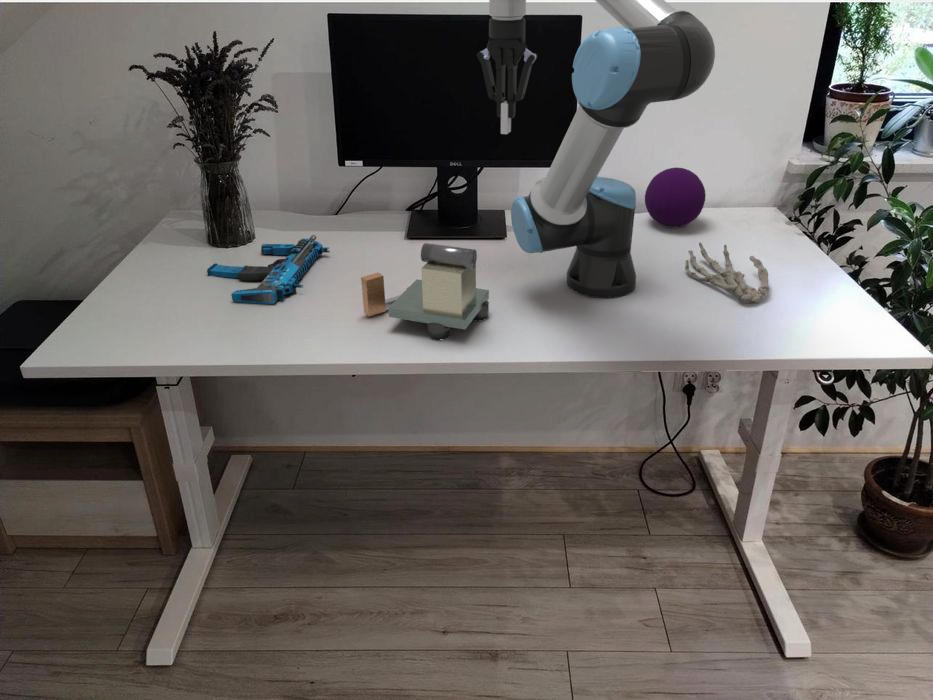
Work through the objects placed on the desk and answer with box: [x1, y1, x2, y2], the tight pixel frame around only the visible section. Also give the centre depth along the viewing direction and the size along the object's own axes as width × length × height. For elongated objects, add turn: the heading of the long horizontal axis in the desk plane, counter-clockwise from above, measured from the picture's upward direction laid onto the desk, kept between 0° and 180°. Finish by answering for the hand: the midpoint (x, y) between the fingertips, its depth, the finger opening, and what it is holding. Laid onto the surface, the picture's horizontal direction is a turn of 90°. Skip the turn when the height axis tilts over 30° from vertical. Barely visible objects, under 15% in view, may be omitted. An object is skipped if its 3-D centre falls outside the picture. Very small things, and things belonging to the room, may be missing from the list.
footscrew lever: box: [360, 272, 410, 317], centre depth 163 cm, size 15×5×8 cm, turn 127°
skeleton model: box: [684, 241, 770, 305], centre depth 174 cm, size 24×13×5 cm, turn 27°
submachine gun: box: [206, 234, 331, 305], centre depth 182 cm, size 34×4×25 cm
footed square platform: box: [387, 242, 490, 341], centre depth 155 cm, size 17×15×17 cm
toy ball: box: [644, 167, 706, 228], centre depth 201 cm, size 15×15×15 cm
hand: (505, 132), depth 174 cm, fingers closed
